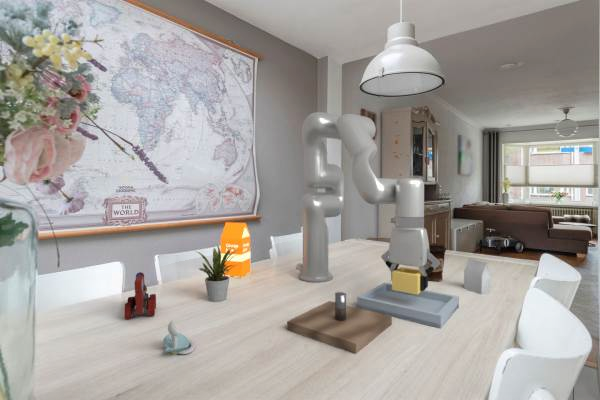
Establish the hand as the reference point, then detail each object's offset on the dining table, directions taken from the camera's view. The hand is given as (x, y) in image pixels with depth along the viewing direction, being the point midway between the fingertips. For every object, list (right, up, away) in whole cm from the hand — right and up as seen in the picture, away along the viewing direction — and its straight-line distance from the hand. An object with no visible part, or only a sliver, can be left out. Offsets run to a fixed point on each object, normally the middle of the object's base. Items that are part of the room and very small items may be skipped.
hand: (409, 286), depth 91 cm
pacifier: (-55, -7, -24) cm, 60 cm away
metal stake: (-21, -4, -13) cm, 25 cm away
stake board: (-21, -6, -13) cm, 25 cm away
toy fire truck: (-72, -6, -4) cm, 73 cm away
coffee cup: (+18, -5, +29) cm, 35 cm away
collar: (0, -1, 0) cm, 1 cm away
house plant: (-54, -6, +7) cm, 54 cm away
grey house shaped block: (+27, -6, +16) cm, 32 cm away
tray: (0, -6, 0) cm, 6 cm away
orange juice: (-55, -5, +36) cm, 66 cm away
